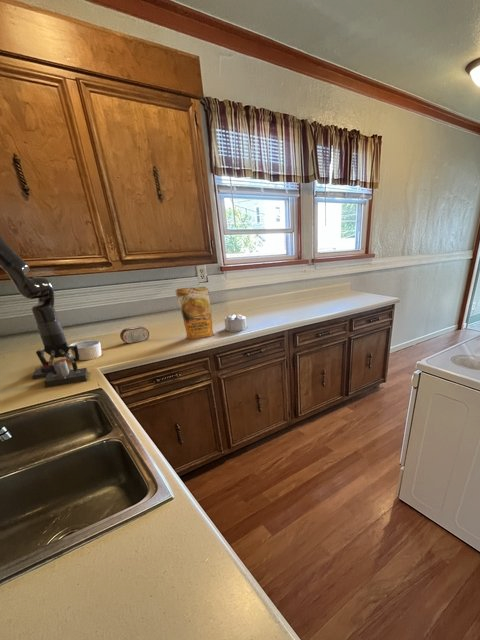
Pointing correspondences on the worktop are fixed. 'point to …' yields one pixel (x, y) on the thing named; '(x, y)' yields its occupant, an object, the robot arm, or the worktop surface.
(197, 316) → the pancake mix bag
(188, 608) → the worktop surface
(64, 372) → the grey rectangular block
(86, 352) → the ramekin
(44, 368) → the power switch
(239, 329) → the lumpy-topped squat cylinder
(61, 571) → the worktop surface
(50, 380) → the control panel
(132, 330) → the tin
